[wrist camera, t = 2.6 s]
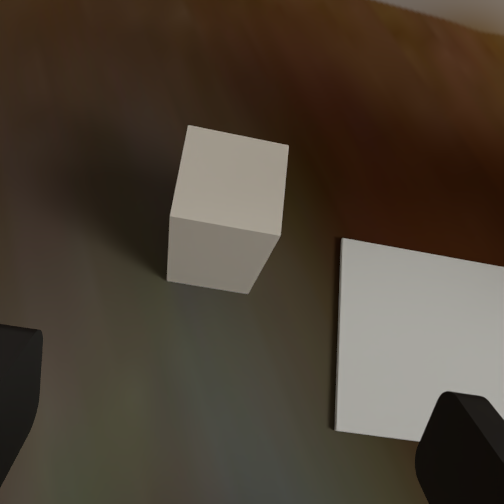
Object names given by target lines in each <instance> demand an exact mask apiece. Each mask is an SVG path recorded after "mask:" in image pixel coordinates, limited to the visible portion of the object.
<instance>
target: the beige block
mask: <svg viewBox="0 0 504 504" xmlns="http://www.w3.org/2000/svg"><path fill="white" fill-rule="evenodd" d="M288 150H289V145H284V144H279V143H274V142H269V141H265V140H260V139H255V138H250V137H245V136H240V135H235V134H230V133H225V132H220V131H215V130H210V129H205V128H200V127H196V126H191V125H188V129H187V134H186V138H185V143H184V148H183V153H182V158H181V163H180V168H179V173H178V178H177V183H176V188H175V193H174V198H173V203H172V208H171V213H170V222H169V243H168V264H167V281H170V282H176V283H182V284H188V285H194V286H201V287H207V288H213V289H219V290H225V291H231V292H238V293H244V294H248V293H249V291H250V290H251V288H252V286H253V284H254V282H255V281H256V279H257V277H258V275H259V274H260V272H261V270H262V268H263V266H264V265H265V263H266V261H267V259H268V257H269V256H270V254H271V252H272V250H273V248H274V247H275V245H276V243H277V241H278V240H279V238H280V236H281V226H282V215H283V204H284V193H285V182H286V171H287V161H288Z"/></svg>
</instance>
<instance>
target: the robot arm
mask: <svg viewBox="0 0 504 504" xmlns="http://www.w3.org/2000/svg"><path fill="white" fill-rule="evenodd" d="M42 346H43V335H42V332H41V330H37V329H30V328H23V327H17V326H10V325H3V324H0V487H1V485H2V483H3V481H4V479H5V478H6V476H7V474H8V472H9V470H10V468H11V466H12V464H13V462H14V461H15V459H16V457H17V455H18V453H19V451H20V449H21V447H22V445H23V444H24V442H25V440H26V438H27V436H28V434H29V432H30V430H31V427H32V425H33V422H34V419H35V416H36V412H37V408H38V403H39V394H40V378H41V362H42ZM415 469H416V475H417V478H418V481H419V483H420V485H421V487H422V490H423V492H424V494H425V496H426V498H427V500H428V502H429V504H504V420H503V418H502V417H501V416H500V414H499V413H498V412H497V411H496V409H495V408H494V407H493V406H492V404H491V403H490V402H489V401H488V400H487V399H486V398H485V397H483V396H478V395H471V394H464V393H458V392H451V391H446V392H443V393H442V394H441V395H440V396H439V398H438V400H437V402H436V404H435V407H434V409H433V412H432V414H431V416H430V419H429V421H428V423H427V426H426V428H425V430H424V433H423V435H422V437H421V440H420V442H419V445H418V447H417V450H416V456H415Z"/></svg>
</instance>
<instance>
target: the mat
mask: <svg viewBox="0 0 504 504" xmlns="http://www.w3.org/2000/svg"><path fill="white" fill-rule="evenodd" d="M446 391H451V392H458V393H464V394H471V395H478V396H483V397H485V398H486V399H487V400H488V401H489V402H490V403H491V404H492V406H493V407H494V408H495V409H496V411H497V412H498V413H499V414H500V416H501V417H502V418H503V420H504V267H500V266H495V265H489V264H484V263H478V262H473V261H467V260H462V259H456V258H451V257H445V256H439V255H434V254H428V253H423V252H417V251H412V250H406V249H401V248H395V247H390V246H384V245H379V244H373V243H368V242H362V241H357V240H351V239H346V238H342V239H341V251H340V280H339V310H338V339H337V368H336V397H335V426H334V431H341V432H348V433H356V434H364V435H372V436H379V437H387V438H395V439H402V440H410V441H418V442H420V440H421V437H422V435H423V433H424V430H425V428H426V426H427V423H428V421H429V419H430V416H431V414H432V412H433V409H434V407H435V404H436V402H437V400H438V398H439V396H440V395H441V394H442V393H443V392H446Z"/></svg>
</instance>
